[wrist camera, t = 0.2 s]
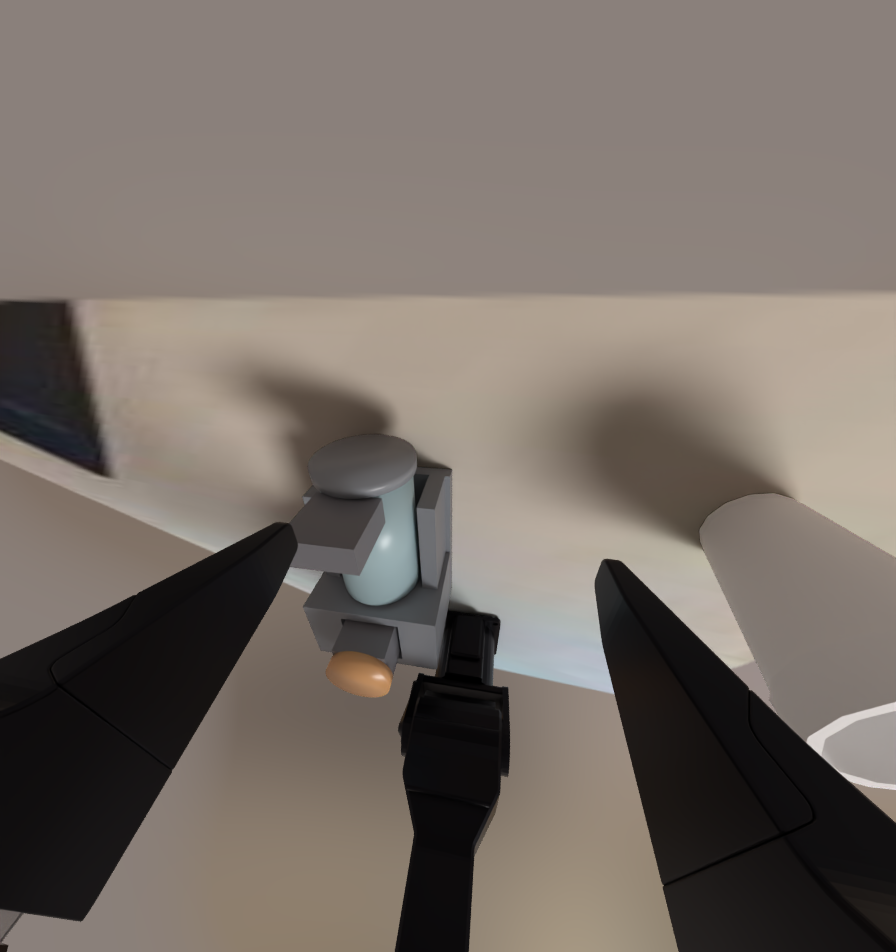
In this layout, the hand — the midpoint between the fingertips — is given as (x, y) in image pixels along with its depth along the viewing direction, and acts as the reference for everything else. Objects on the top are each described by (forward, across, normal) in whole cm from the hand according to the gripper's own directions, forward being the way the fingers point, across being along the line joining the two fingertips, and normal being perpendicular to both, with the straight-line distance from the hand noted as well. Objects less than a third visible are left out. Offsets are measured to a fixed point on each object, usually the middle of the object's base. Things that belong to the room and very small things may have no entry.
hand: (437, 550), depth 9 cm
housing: (+14, +7, +12) cm, 20 cm away
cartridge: (+13, +7, +8) cm, 17 cm away
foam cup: (+15, -20, +9) cm, 27 cm away
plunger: (+7, +7, +17) cm, 20 cm away
